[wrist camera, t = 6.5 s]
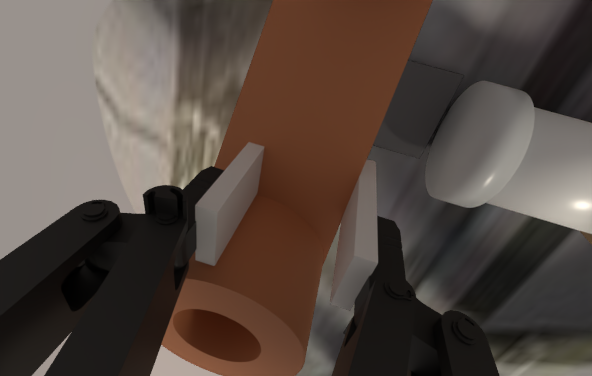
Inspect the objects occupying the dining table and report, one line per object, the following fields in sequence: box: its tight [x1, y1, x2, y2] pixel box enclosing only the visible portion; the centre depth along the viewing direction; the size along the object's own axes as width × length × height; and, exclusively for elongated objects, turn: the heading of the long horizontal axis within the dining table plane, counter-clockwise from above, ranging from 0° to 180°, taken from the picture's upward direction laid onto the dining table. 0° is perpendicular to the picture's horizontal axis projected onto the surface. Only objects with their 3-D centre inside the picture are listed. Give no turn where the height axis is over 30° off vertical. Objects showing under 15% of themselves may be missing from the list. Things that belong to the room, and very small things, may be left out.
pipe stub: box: [425, 81, 592, 245], centre depth 20 cm, size 17×10×14 cm, turn 79°
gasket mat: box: [373, 60, 464, 159], centre depth 26 cm, size 14×8×1 cm, turn 79°
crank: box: [161, 0, 433, 376], centre depth 12 cm, size 20×8×8 cm
